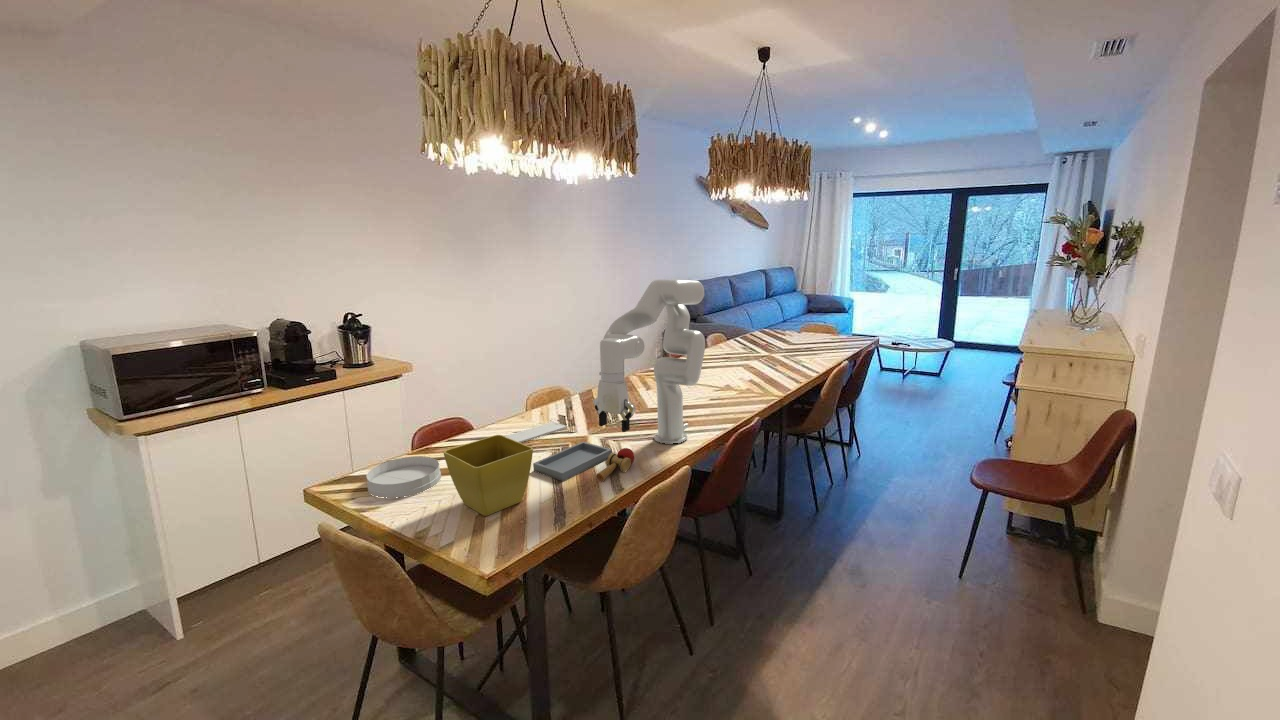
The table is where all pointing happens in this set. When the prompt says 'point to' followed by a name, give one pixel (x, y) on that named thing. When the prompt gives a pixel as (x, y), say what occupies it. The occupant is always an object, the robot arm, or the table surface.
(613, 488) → the table surface
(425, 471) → the dish
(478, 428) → the table surface
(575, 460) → the cradle tray
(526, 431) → the baseboard
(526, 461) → the flower pot
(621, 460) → the kendama
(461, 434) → the table surface
